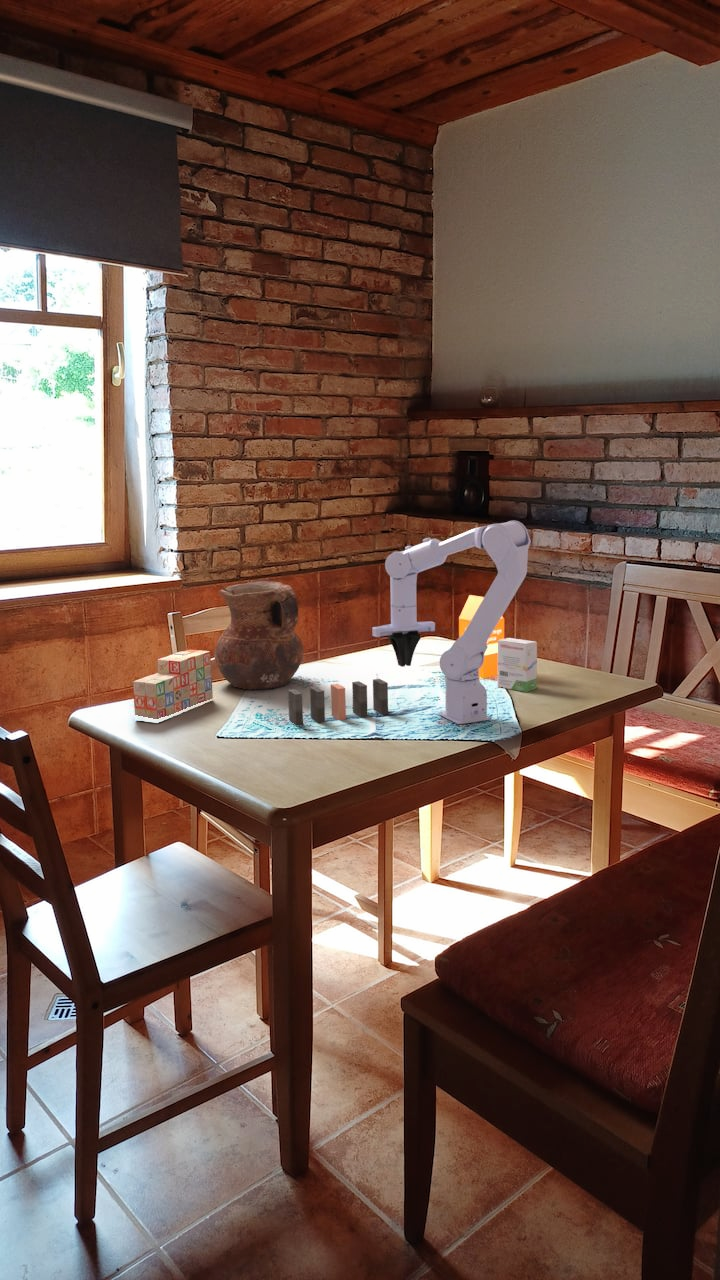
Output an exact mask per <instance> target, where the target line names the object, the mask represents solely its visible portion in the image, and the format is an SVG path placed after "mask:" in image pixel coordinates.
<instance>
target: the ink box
mask: <svg viewBox="0 0 720 1280" xmlns="http://www.w3.org/2000/svg"><path fill="white" fill-rule="evenodd" d="M537 676H538V642H537V641H533V640H527V639H520V638H513V637H506V638H504V639H501V640H499V641H498V676H497V688H501V687H503V688H502V689H506V690H507V689H508V690H511V691H512V690H514V691H518V692H522V693H523V692H525V693H528V692H530V691H534V690H536V689H537V687H538V686H537V684H538V682H537V681H538V680H537V679H538V677H537Z"/></svg>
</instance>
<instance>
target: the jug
mask: <svg viewBox="0 0 720 1280" xmlns="http://www.w3.org/2000/svg"><path fill="white" fill-rule="evenodd" d="M219 594H220V595H221V596H222V598H223V599H224V601H225V602H226V605H227V606H228V608H229V611H230V612H229V613H230V624H229V625H228V626H227V628H226V629H225V630H224V631H223V632H222V633H221V635H220V636H219V639H218V640H217V642H216V644H215V648H214V660H215V661H214V662H215V664H216V666H217V668H218V671H219V672H220V674H221V675H222V677H223V678H224V679H225V680H226V682H228V683H229V684H230V685H231V686H232V685H233V687H234V686H235V687H234V688H236V687H238V688H237V689H240V688H242V689H241V690H270V689H276V688H280V687H281V686H284V685H285V684H287V683H288V681H290V680H291V679H292V678H293V677H294V676H295V674H296V672H297V671H298V670H299V668H300V666H301V663H302V660H303V656H304V643H303V642H302V640H301V638H300V636H299V635H298V634H297V633H296V632H295V628H296V626H297V625H298V621H299V602H298V600H297V599H298V598H297V596H296V594H295V591H294V590H293V587H292V586H291V585H289V584H284V583H281V582H279V581H275V580H256V581H249V582H247V583H238V584H237V583H236V584H234V585H229V586H226V587H223V588H222V589H220V591H219ZM275 687H276V688H275ZM269 688H270V689H269Z"/></svg>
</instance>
